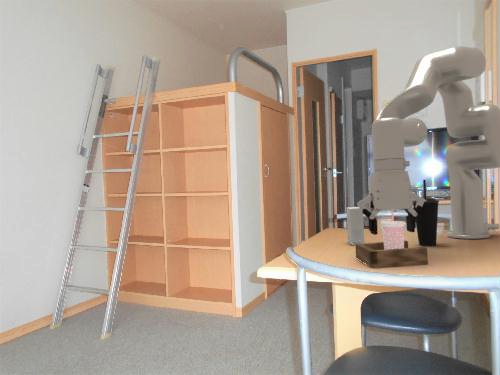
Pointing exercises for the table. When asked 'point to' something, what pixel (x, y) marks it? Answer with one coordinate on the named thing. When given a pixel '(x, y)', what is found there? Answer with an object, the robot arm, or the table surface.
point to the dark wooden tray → (390, 255)
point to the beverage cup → (393, 234)
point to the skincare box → (355, 225)
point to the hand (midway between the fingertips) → (392, 232)
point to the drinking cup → (427, 220)
